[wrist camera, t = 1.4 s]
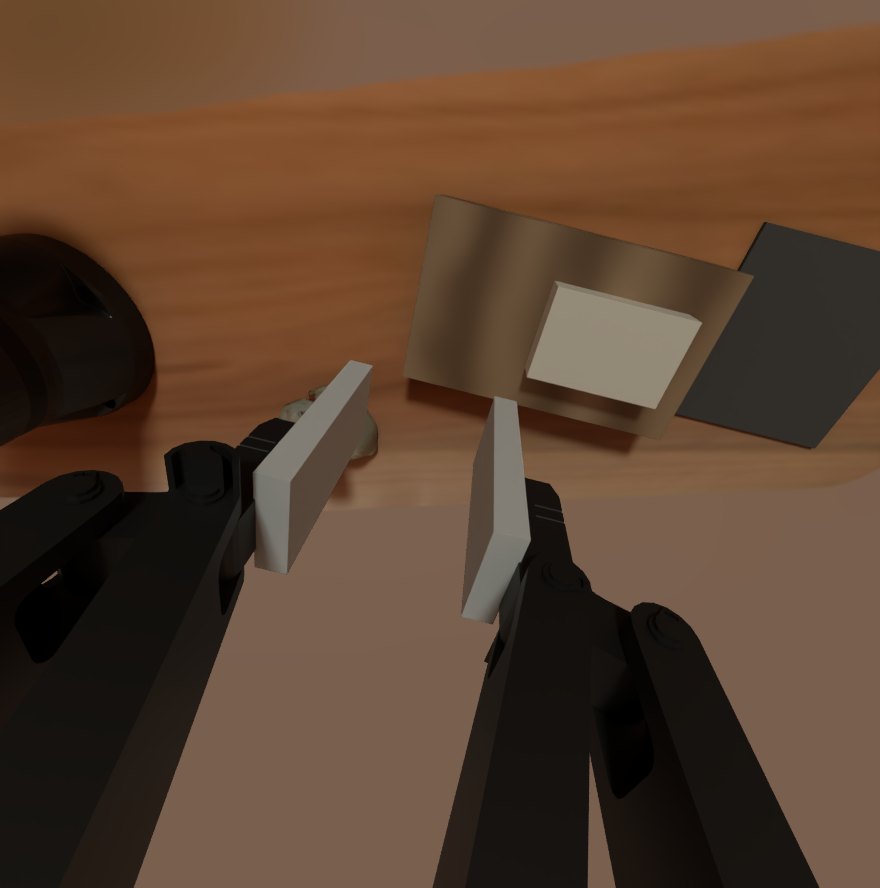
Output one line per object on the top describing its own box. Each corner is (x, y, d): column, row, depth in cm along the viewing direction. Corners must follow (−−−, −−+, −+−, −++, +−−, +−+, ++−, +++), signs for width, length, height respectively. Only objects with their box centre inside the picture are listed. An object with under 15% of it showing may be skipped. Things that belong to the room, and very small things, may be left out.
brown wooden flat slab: (411, 358, 35) (402, 376, 32) (442, 194, 29) (435, 194, 26) (644, 416, 36) (659, 440, 32) (724, 266, 29) (754, 275, 26)
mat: (661, 408, 35) (662, 410, 35) (764, 222, 28) (766, 222, 28) (812, 446, 35) (814, 448, 35) (954, 270, 28) (958, 271, 28)
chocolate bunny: (360, 371, 36) (319, 426, 28) (384, 449, 40) (354, 519, 32) (302, 381, 38) (244, 436, 29) (330, 456, 41) (287, 524, 33)
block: (524, 366, 30) (526, 377, 29) (554, 280, 27) (558, 286, 26) (646, 397, 31) (655, 409, 29) (689, 314, 27) (702, 322, 26)
